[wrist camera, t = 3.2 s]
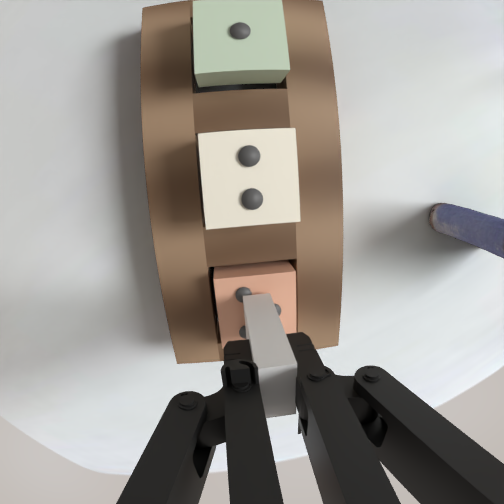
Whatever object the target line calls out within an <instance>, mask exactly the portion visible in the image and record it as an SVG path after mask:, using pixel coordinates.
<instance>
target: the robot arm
mask: <svg viewBox="0 0 504 504" xmlns="http://www.w3.org/2000/svg"><path fill="white" fill-rule="evenodd" d="M243 305H244V317H245V328H246V338H247V339H245V340H235V341H228V342H227V343H226V345H225V346H224V365H223V366H222V368H221V376H222V382H223V387H222V388H221V389H220V390H219V391H218V392H216V393H215V394H212V395H209V396H206V397H204V396H203V395H201V394H200V393H197V392H193V391H186V392H182V393H179V394H177V395H175V396H174V397H173V398H172V399H171V400H170V402H169V404H168V406H167V408H166V410H165V412H164V414H163V415H162V417H161V419H160V421H159V423H158V425H157V427H156V429H155V431H154V433H153V435H152V436H151V438H150V440H149V442H148V444H147V446H146V448H145V450H144V452H143V454H142V455H141V457H140V459H139V461H138V463H137V465H136V467H135V469H134V471H133V473H132V475H131V477H130V478H129V480H128V482H127V484H126V486H125V488H124V490H123V492H122V494H121V496H120V498H119V499H118V501H117V503H116V504H198V503H199V500H200V497H201V494H202V490H203V487H204V484H205V481H206V478H207V475H208V472H209V468H210V465H211V462H212V459H213V456H214V452H215V449H216V445H218V444H221V443H224V442H226V450H227V466H228V481H229V494H230V504H284V503H283V499H282V494H281V489H280V485H279V480H278V476H277V471H276V465H275V461H274V456H273V451H272V446H271V441H270V436H269V431H268V426H267V421H266V418H270V417H278V416H284V415H291V414H296V406H297V410H298V413H299V420H298V434H301V432H302V435H303V439H304V442H305V445H306V449H307V452H308V455H309V458H310V462H311V465H312V468H313V471H314V475H315V478H316V481H317V484H318V488H319V491H320V494H321V497H322V501H323V504H401V503H400V501H399V499H398V497H397V495H396V493H395V491H394V489H393V487H392V485H391V483H390V481H389V479H388V477H387V475H386V473H385V471H384V469H383V467H382V465H381V463H380V462H382V464H383V465H384V466H385V467H386V468H387V469H388V470H389V471H390V472H391V473H392V474H393V476H394V477H395V478H396V479H397V480H398V481H399V482H400V483H401V484H402V485H403V486H404V487H405V488H406V489H407V490H408V491H409V492H410V493H411V494H412V495H413V496H414V497H415V498H416V499H417V501H418V502H419V503H420V504H504V464H503V463H502V462H500V461H499V460H498V459H496V458H495V457H494V456H493V455H491V454H490V453H489V452H488V451H486V450H485V449H483V448H482V447H481V446H480V445H479V444H477V443H476V442H475V441H473V440H472V439H471V438H470V437H468V436H467V435H466V434H465V433H463V432H462V431H461V430H459V429H458V428H457V427H456V426H454V425H453V424H452V423H451V422H449V421H448V420H447V419H446V418H444V417H443V416H442V415H440V414H439V413H438V412H437V411H435V410H434V409H433V408H432V407H430V406H429V405H428V404H427V403H425V402H424V401H423V400H422V399H420V398H419V397H418V396H416V395H415V394H414V393H413V392H411V391H410V390H409V389H408V388H406V387H405V386H404V385H403V384H401V383H400V382H399V381H398V380H396V379H395V378H394V377H393V376H391V375H390V374H389V373H388V372H386V371H385V370H384V369H382V368H380V367H377V366H364V367H361V368H360V369H358V370H357V371H356V373H355V376H340V375H335V374H334V372H333V371H332V370H331V369H330V368H328V367H326V366H324V365H323V363H322V361H321V359H320V357H319V355H318V353H317V351H316V349H315V347H314V345H313V344H312V341H311V339H310V337H309V336H308V335H306V334H305V333H303V332H297V333H290V334H286V333H285V331H284V328H283V325H282V323H281V320H280V318H279V315H278V313H277V310H276V307H275V305H274V302H273V300H272V297H271V294H270V293H266V294H256V295H246V296H243Z"/></svg>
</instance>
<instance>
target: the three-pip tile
mask: <svg viewBox="0 0 504 504" xmlns="http://www.w3.org/2000/svg"><path fill="white" fill-rule="evenodd" d="M213 280H214V288H215V296H216V304H217V312H218V320H219V327H220V335H221V342H222V349H224V346H225V345H226V343H227V342H228V341H235V340H245V339H247V338H246V328H245V317H244V305H243V296H246V295H256V294H266V293H270V294H271V297H272V300H273V302H274V305H275V307H276V310H277V313H278V315H279V318H280V320H281V323H282V325H283V328H284V331H285V333H286V334H290V333H296V271H295V270H294V268H293V267H292V265H291V264H290V262H289V261H288V260H277V261H267V262H256V263H246V264H235V265H224V266H214V278H213Z"/></svg>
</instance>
